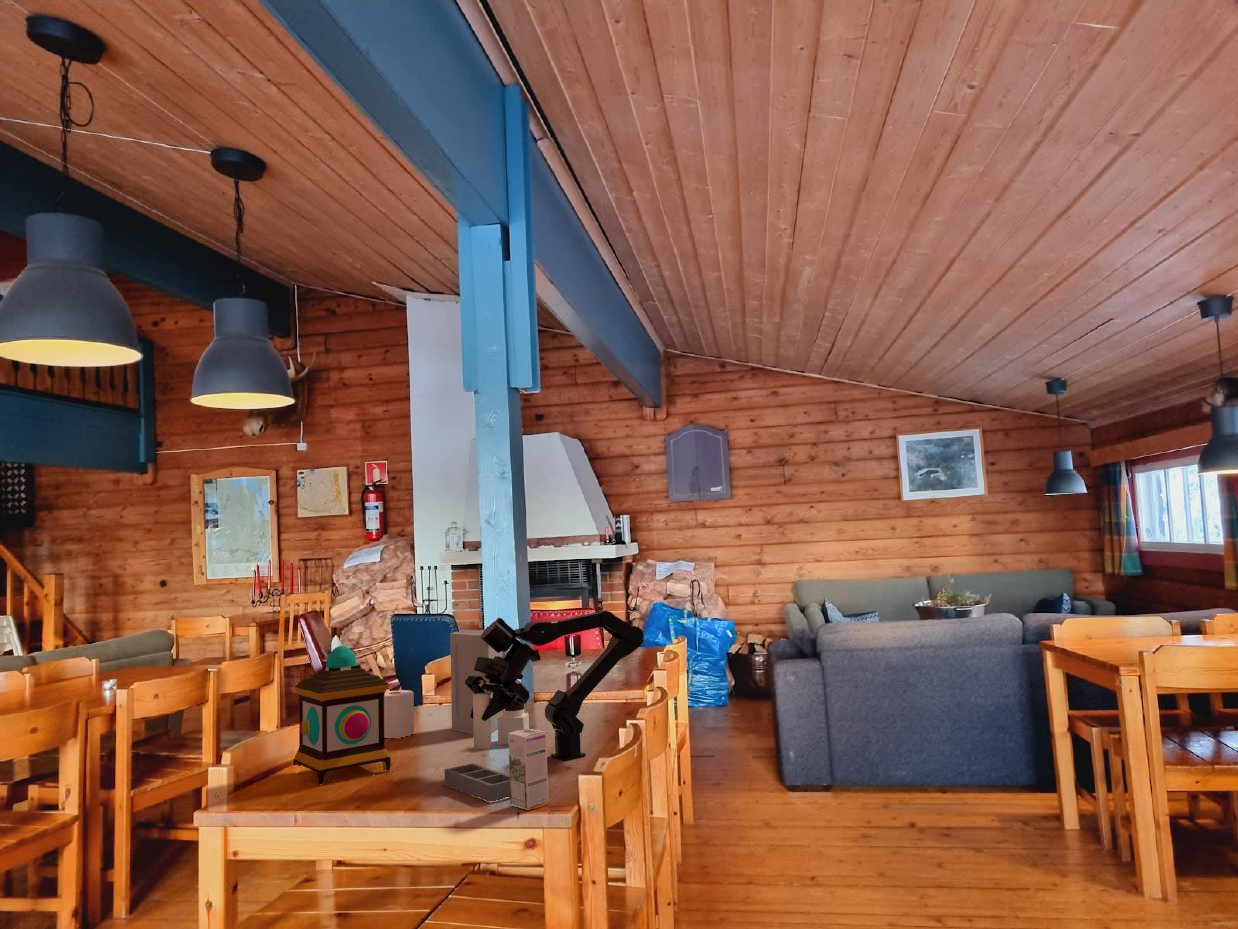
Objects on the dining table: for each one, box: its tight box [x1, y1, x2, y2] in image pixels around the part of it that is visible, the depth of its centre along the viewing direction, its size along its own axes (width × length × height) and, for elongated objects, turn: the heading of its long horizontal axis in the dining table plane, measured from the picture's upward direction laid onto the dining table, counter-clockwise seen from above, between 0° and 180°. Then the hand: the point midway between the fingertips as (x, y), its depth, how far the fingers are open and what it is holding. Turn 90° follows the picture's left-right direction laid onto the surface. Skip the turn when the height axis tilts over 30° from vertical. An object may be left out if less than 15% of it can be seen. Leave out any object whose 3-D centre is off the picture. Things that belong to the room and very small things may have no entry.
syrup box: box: [508, 728, 550, 808], centre depth 169 cm, size 6×6×14 cm
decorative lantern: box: [292, 645, 392, 785], centre depth 204 cm, size 20×20×30 cm
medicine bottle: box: [497, 697, 530, 746], centre depth 229 cm, size 7×7×12 cm
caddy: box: [444, 763, 510, 801], centre depth 181 cm, size 20×7×4 cm, turn 40°
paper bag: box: [449, 629, 509, 736], centre depth 251 cm, size 19×15×28 cm
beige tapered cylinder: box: [473, 693, 492, 750], centre depth 197 cm, size 4×4×12 cm
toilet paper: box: [384, 689, 415, 738], centre depth 244 cm, size 10×10×12 cm
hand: (477, 719), depth 196 cm, fingers closed on beige tapered cylinder, 4 cm apart
